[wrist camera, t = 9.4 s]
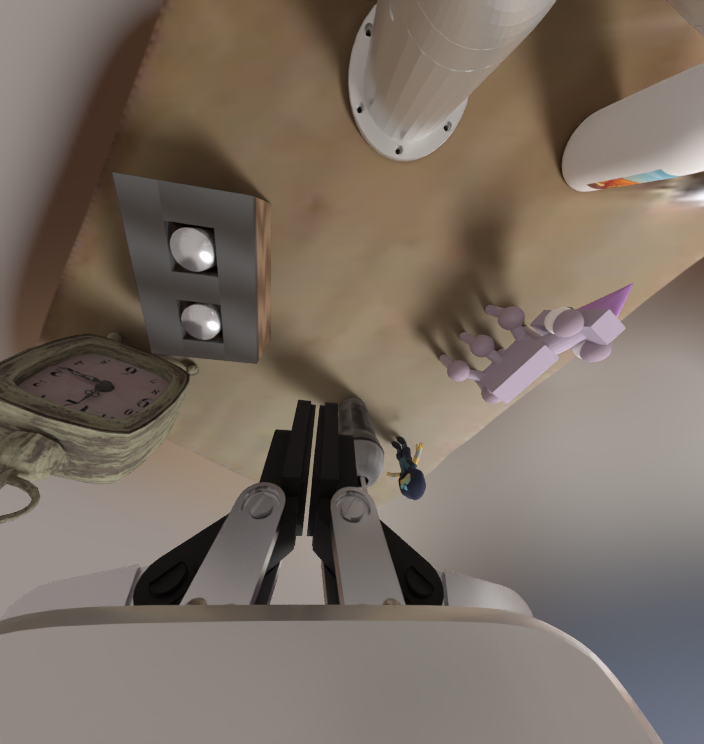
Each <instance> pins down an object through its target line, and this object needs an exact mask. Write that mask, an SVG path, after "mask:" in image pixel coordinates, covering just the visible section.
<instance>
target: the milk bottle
mask: <svg viewBox="0 0 704 744" xmlns="http://www.w3.org/2000/svg"><path fill="white" fill-rule="evenodd" d="M701 171H704V63H701V64H699V65H697V66H694V67H692V68H690V69H688V70H685V71H683V72H681V73H679V74H677V75H674V76H672V77H670V78H668V79H665V80H663V81H661V82H659V83H657V84H654V85H652V86H650V87H648V88H646V89H643V90H641V91H639V92H637V93H635V94H633V95H630V96H628V97H626V98H624V99H622V100H619V101H617V102H615V103H613V104H611V105H609V106H607V107H604V108H602V109H600V110H598V111H596V112H595V113H593V114H591V115H590V116H589V117H587V118H586V119H585V120H584V121H583V122H582V123H581V124H580V125H579V126H578V127H577V129H576V130H575V132H574V133H573V134H572V136H571V137H570V139H569V141H568V143H567V145H566V148H565V150H564V154H563V158H562V174H563V177H564V179H565V181H566V183H567V184H568V185H569V186H570V187H571V188H573V189H575V190H577V191H594V190H601V189H607V188H613V187H620V186H626V185H632V184H638V183H644V182H650V181H656V180H662V179H668V178H673V177H678V176H683V175H688V174H693V173H697V172H701Z"/></svg>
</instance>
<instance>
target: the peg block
mask: <svg viewBox="0 0 704 744" xmlns="http://www.w3.org/2000/svg"><path fill="white" fill-rule="evenodd" d="M112 175H113V179H114V184H115V188H116V193H117V197H118V202H119V207H120V211H121V216H122V220H123V225H124V229H125V234H126V239H127V243H128V248H129V252H130V257H131V261H132V266H133V271H134V275H135V280H136V284H137V289H138V293H139V298H140V303H141V307H142V312H143V316H144V321H145V325H146V330H147V335H148V339H149V344H150V348H151V353H153V354H163V355H173V356H183V357H193V358H204V359H214V360H224V361H234V362H244V363H254V364H257V362H258V360H259V359H260V357H261V355H262V354H263V352H264V350H265V349H266V347H267V345H268V344H269V342H270V303H271V204H270V203H268V202H266V201H263V200H261V199H259V198H256V197H254V196H251V195H245V194H239V193H233V192H227V191H221V190H215V189H209V188H203V187H197V186H191V185H185V184H179V183H173V182H167V181H162V180H156V179H150V178H144V177H138V176H132V175H126V174H120V173H114V172H112ZM201 226H204V227H210V228H214V232H215V244H216V256H217V267H213V268H210V269H207V270H203V271H199V272H195V271H190V270H188V269H186V268H184V267H182V266H181V265H180V264H179V263H178V262H177V261H176V260H175V258H174V256H173V254H172V252H171V248H170V239H171V236H172V235H173V233H174V232H175V231H176V230H178V229H180V228H201ZM197 302H201V303H209V304H217V305H221V316H222V328H223V329H222V330H221V331H220V332H219V333H218V334H217V335H216V336H214V337H213V338H211V339H207V340H202V339H198V338H195V337H193V336H192V335H190V334H189V333H188V332H187V331H186V330H185V328H184V327H183V324H182V320H181V316H182V313H183V311H184V310H185V309H186V308H187V307H189V306H191V305H193V304H195V303H197Z"/></svg>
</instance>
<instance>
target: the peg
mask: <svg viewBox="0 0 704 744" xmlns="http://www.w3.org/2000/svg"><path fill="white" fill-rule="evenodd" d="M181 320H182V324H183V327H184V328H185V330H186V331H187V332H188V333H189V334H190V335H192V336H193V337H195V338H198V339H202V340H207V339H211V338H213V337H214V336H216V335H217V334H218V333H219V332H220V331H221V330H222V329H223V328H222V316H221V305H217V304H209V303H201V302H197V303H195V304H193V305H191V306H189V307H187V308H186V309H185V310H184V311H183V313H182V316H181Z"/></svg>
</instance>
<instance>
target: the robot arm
mask: <svg viewBox="0 0 704 744" xmlns="http://www.w3.org/2000/svg"><path fill="white" fill-rule="evenodd" d="M555 2H556V0H378V1H377V3H376V4H375V5H374V6H373V8H372V9H371V11H370V12H369V13H368V15H367V16H366V17H365V19H364V21H363V23H362V25H361V27H360V29H359V31H358V33H357V36H356V39H355V42H354V45H353V48H352V52H351V58H350V64H349V73H348V92H349V101H350V106H351V111H352V114H353V117H354V120H355V123H356V126H357V127H358V129H359V131H360V133H361V135H362V137H363V138H364V139H365V141H366V142H367V143H368V144H369V146H370V147H371V148H373V149H374V150H375V151H376V152H377V153H378V154H380V155H382V156H384V157H386V158H388V159H391V160H395V161H405V162H409V161H413V160H418V159H420V158H423V157H425V156H427V155H429V154H430V153H432V152H433V151H434V150H436V149H437V148H438V147H439V146H441V145H442V144H443V143H444V142H445V141H446V140H447V139H448V137H449V136H450V135H451V134H452V132H453V131H454V130H455V128H456V126H457V124H458V123H459V121H460V119H461V117H462V115H463V112H464V110H465V107H466V105H467V102H468V98H469V95H470V94H471V93H472V92H473V91H474V90H475V89H476V88H477V87H478V86H479V85H480V84H481V83H482V82H483V81H484V80H485V79H486V78H487V77H488V76H489V75H490V74H491V73H492V72H493V71H494V70H495V69H496V68H497V67H498V66H499V65H500V63H501V62H502V61H503V60H504V59H505V58H506V57H507V56H508V55H509V54H510V53H511V52H512V51H513V50H514V49H515V48H516V47H517V46H518V45H519V44H520V43H521V42H522V41H523V40H524V39H525V38H526V37H527V36H528V35H529V34H530V33H531V32H532V31H533V29H534V28H535V27H536V26H537V25H538V24H539V22H540V21H541V20H542V19H543V18H544V16H545V15H546V14H547V13H548V11H549V10H550V9H551V7H552V6H553V5H554V3H555ZM667 2H668V3H669V4H670V5H671V6H672V7H673V8H674V9H675V10H676V11H677V12H678V13H679V14H680V15H681V16H682V17H683V18H684V19H685V20H686V21H687V22H688V23H689V24H690V25H693V27H694V28H695V29H696V30H697V31H698V32H699V33H700V34H701V35H702V36H704V0H667ZM366 33H370V35H371V36H370V37H368V36H367V35H366ZM358 108H360V109H361V110H362V112H361V113H358V112H357V109H358ZM444 126H445V127H446V128H447V130H446V131H444ZM397 149H398V150H399V154H396V150H397ZM315 408H316V405H312V404H311V401H305V400H298V403H297V408H296V413H295V417H294V422H293V426H292V431H290V430H275V432H274V436H273V439H272V442H271V446H270V449H269V452H268V455H267V459H266V462H265V465H264V469H263V472H262V475H261V479H260V482H259V483H256V484H254V485H252V486H250V487H248V488H246V489H245V490H244V491H243V492H242V493H241V494H240V496H239V497H238V499H237V500H236V502H235V504H234V506H233V508H232V510H231V512H230V513H229V514H227V515H226V516H224V517H223V518H221V519H220V520H218V521H217V522H215V523H213V524H212V525H210V526H209V527H207V528H206V529H204V530H202V531H201V532H199V533H198V534H196V535H195V536H193V537H192V538H190V539H189V540H187V541H185V542H184V543H182V544H181V545H179V546H177V547H176V548H174V549H173V550H171V551H170V552H168V553H167V554H165V555H163V556H162V557H160V558H159V559H158V560H156V561H155V562H154V563H153V564H151V565H150V566H146V567H141V568H140V566H139V565H138V564H137V565H133V566H128V567H123V568H118V569H113V570H108V571H103V572H98V573H94V574H89V575H84V576H79V577H74V578H69V579H64V580H59V581H55V582H51V583H48V584H45V585H42V586H39V587H37V588H35V589H34V590H32V591H30V592H29V593H27V594H25V595H24V596H22V597H21V598H20V599H19V600H17V601H16V602H15V603H14V604H13V605H11V606H10V607H9V608H8V609H7V611H6V612H5V613H4V614H3V615H2V617H1V618H0V744H663V742H662V741H661V739H660V738H659V736H658V735H657V733H656V732H655V730H654V729H653V728H652V726H651V725H650V723H649V722H648V720H647V719H646V717H645V716H644V715H643V713H642V712H641V711H640V709H639V708H638V706H637V705H636V703H635V702H634V701H633V699H632V698H631V696H630V695H629V693H628V692H627V691H626V690H625V688H624V687H623V686H622V684H621V683H620V682H619V680H618V679H617V678H616V677H615V676H614V674H613V673H612V672H611V671H610V670H609V668H608V667H607V666H606V665H605V664H604V663H603V662H602V661H601V660H600V659H599V658H598V657H597V656H596V655H595V654H594V653H593V652H592V651H590V650H589V649H588V648H587V647H586V646H584V645H583V644H582V643H580V642H579V641H577V640H576V639H574V638H573V637H571V636H569V635H568V634H566V633H564V632H563V631H561V630H559V629H557V628H555V627H553V626H551V625H549V624H547V623H545V622H543V621H540V620H538V619H535V618H534V617H533V615H532V613H531V611H530V609H529V607H528V606H527V604H526V603H525V602H524V600H523V599H522V598H521V597H520V596H519V595H517V594H516V593H515V592H514V591H513V590H511V589H509V588H507V587H505V586H501V585H498V584H494V583H491V582H487V581H484V580H480V579H476V578H473V577H470V576H466V575H463V574H459V573H456V572H452V571H448V570H444V571H443V572H440V571H436V570H435V569H434V568H433V567H432V566H431V564H430V563H429V562H427V561H426V560H425V559H424V558H423V557H421V556H420V555H419V554H418V553H417V552H416V551H415V550H414V549H413V548H412V547H410V546H409V545H408V544H407V543H406V542H405V541H404V540H402V539H401V538H400V537H399V536H398V535H397V534H396V533H394V532H393V531H392V530H391V529H390V528H389V527H388V526H387V525H385V524H384V523H383V522H382V521H381V520H380V519H379V516H378V513H377V510H376V507H375V503H374V501H373V499H372V498H371V496H370V495H369V494H368V493H367V492H365V491H364V490H362V489H360V488H358V480H357V469H356V458H355V447H354V437H353V435H343V434H338V403H328V402H325V406H323V405H320V408H319V418H318V427H317V436H316V445H315V454H314V465H313V476H312V487H311V497H310V508H309V519H308V530H307V536H313V541H312V546H313V551H314V552H315V553H316V554H317V555H318V557H319V558H320V559H321V569H322V580H323V591H324V601H325V605H270V602H271V599H272V595H273V592H274V589H275V585H276V582H277V579H278V575H279V572H280V569H281V565H282V559H283V558H284V557H286V556H287V555H288V554H289V553H290V552H291V551H292V550H293V549H294V546H295V540H296V536H302V531H303V522H304V513H305V504H306V494H307V485H308V476H309V467H310V457H311V448H312V438H313V428H314V418H315Z"/></svg>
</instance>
